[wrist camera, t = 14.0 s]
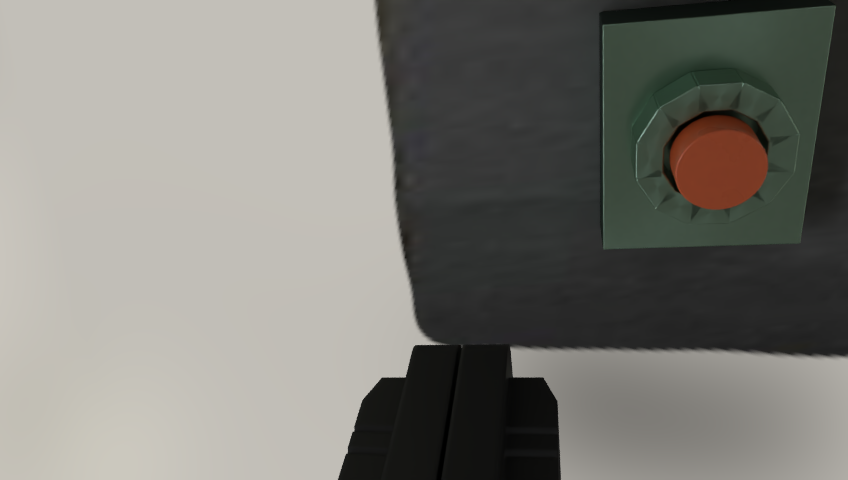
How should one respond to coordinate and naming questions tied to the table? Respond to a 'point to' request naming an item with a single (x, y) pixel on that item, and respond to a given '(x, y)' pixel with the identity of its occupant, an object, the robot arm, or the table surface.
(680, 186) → the button
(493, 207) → the table surface
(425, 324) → the table surface
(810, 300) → the table surface
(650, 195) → the button box
